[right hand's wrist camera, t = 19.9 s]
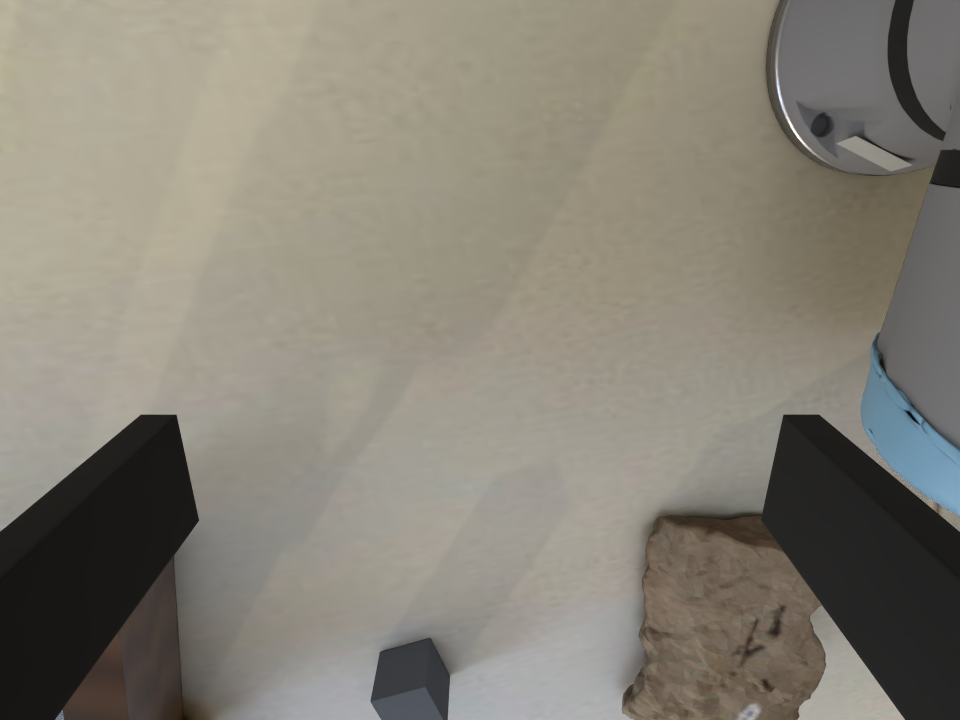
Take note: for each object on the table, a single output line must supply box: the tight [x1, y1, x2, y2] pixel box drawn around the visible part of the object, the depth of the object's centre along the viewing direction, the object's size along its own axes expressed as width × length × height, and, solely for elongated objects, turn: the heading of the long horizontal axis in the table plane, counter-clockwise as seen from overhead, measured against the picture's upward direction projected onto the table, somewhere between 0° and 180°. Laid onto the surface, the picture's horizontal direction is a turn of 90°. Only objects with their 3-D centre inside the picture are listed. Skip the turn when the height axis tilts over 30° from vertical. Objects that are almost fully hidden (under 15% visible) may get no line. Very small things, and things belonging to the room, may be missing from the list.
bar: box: [63, 557, 183, 720], centre depth 49 cm, size 26×5×8 cm, turn 172°
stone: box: [622, 515, 826, 720], centre depth 49 cm, size 21×15×6 cm
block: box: [371, 638, 450, 720], centre depth 51 cm, size 5×5×5 cm
